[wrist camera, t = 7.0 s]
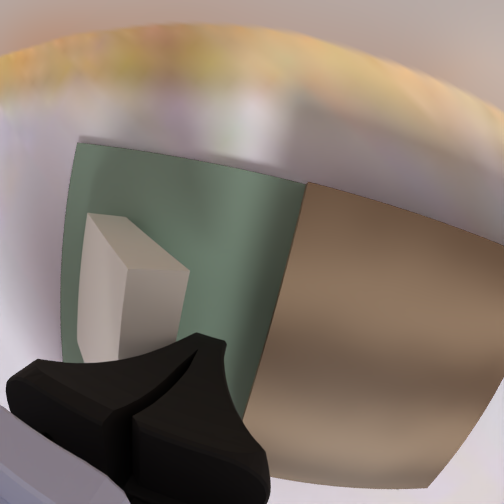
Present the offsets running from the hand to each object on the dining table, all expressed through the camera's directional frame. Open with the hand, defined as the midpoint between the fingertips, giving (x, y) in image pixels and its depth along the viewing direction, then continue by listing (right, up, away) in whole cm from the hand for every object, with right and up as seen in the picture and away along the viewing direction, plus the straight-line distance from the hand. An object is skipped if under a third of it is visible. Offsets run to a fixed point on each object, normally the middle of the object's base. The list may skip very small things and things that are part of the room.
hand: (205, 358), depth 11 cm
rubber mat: (-3, +2, +4) cm, 6 cm away
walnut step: (+8, -1, +3) cm, 9 cm away
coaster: (-3, +1, +2) cm, 4 cm away
